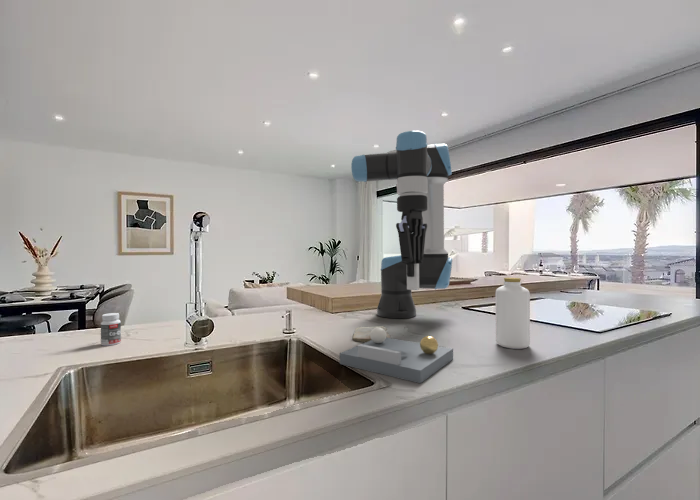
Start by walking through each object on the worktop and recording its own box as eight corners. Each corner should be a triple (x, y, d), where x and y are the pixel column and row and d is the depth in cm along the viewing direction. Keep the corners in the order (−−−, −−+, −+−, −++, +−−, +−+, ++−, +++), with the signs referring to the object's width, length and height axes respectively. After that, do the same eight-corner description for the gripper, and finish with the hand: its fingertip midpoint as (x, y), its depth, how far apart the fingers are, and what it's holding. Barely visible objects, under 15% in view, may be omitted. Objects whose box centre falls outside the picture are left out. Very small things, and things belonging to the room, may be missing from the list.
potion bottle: (522, 341, 99) (522, 276, 98) (535, 350, 90) (535, 279, 90) (491, 341, 99) (491, 276, 99) (501, 349, 91) (501, 279, 91)
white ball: (375, 340, 92) (375, 324, 92) (389, 342, 90) (389, 326, 90) (367, 343, 89) (367, 327, 89) (381, 346, 86) (380, 329, 86)
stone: (390, 347, 96) (391, 338, 96) (351, 346, 97) (351, 337, 96) (387, 333, 111) (387, 325, 111) (353, 333, 111) (353, 324, 111)
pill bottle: (111, 346, 98) (110, 316, 98) (96, 345, 99) (96, 315, 99) (125, 341, 102) (124, 312, 102) (111, 341, 103) (110, 312, 103)
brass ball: (424, 350, 83) (424, 333, 83) (440, 353, 81) (440, 335, 81) (417, 354, 80) (416, 336, 80) (433, 357, 77) (433, 339, 77)
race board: (380, 345, 96) (380, 327, 96) (453, 359, 84) (452, 338, 84) (339, 363, 81) (339, 342, 81) (420, 383, 70) (420, 357, 69)
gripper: (410, 198, 96) (411, 285, 97) (385, 194, 86) (387, 291, 87) (436, 196, 92) (437, 287, 93) (414, 192, 81) (415, 294, 82)
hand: (413, 289), depth 90 cm, fingers closed
